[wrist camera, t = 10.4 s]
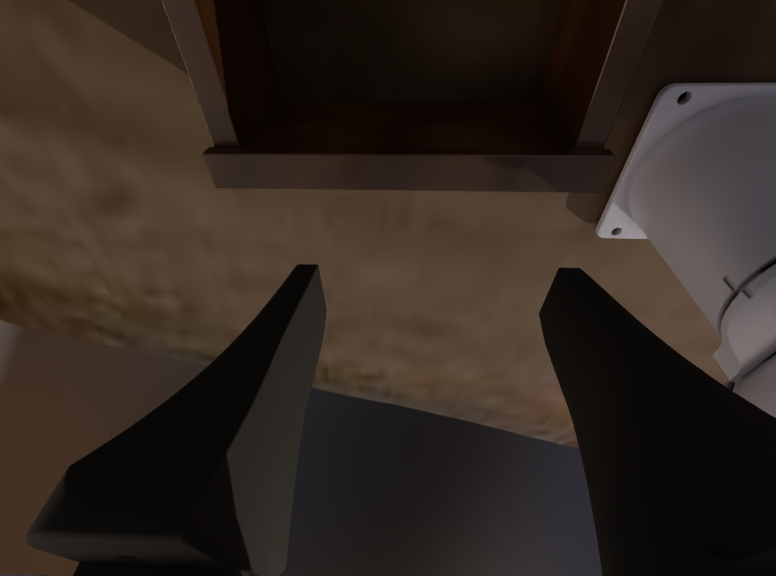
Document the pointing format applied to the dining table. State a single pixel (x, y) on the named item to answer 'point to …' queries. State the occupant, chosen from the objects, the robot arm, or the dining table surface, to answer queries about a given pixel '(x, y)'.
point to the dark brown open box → (411, 112)
